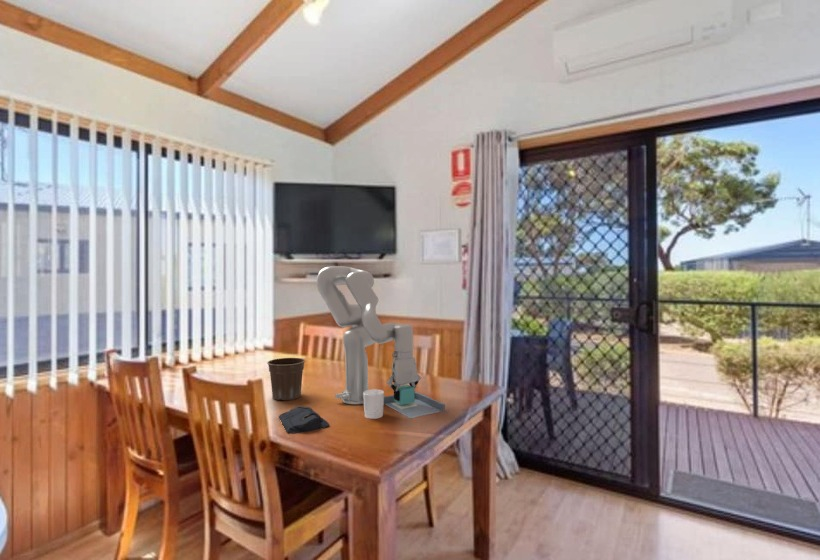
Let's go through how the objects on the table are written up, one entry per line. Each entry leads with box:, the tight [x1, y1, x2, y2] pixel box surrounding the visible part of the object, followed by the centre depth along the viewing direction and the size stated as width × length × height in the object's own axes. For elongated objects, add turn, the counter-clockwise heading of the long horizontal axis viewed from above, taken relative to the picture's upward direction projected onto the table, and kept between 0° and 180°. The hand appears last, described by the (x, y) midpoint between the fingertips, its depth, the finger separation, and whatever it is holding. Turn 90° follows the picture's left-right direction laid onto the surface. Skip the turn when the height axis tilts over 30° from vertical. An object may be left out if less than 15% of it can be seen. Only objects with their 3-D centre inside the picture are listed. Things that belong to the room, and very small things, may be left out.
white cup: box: [363, 388, 385, 420], centre depth 170 cm, size 8×8×10 cm
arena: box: [384, 390, 446, 419], centre depth 180 cm, size 16×22×4 cm
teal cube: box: [394, 384, 414, 405], centre depth 182 cm, size 6×6×6 cm
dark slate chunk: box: [278, 406, 330, 435], centre depth 167 cm, size 15×22×5 cm
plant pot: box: [266, 357, 306, 401], centre depth 199 cm, size 16×16×16 cm
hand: (404, 398), depth 183 cm, fingers open, 6 cm apart
